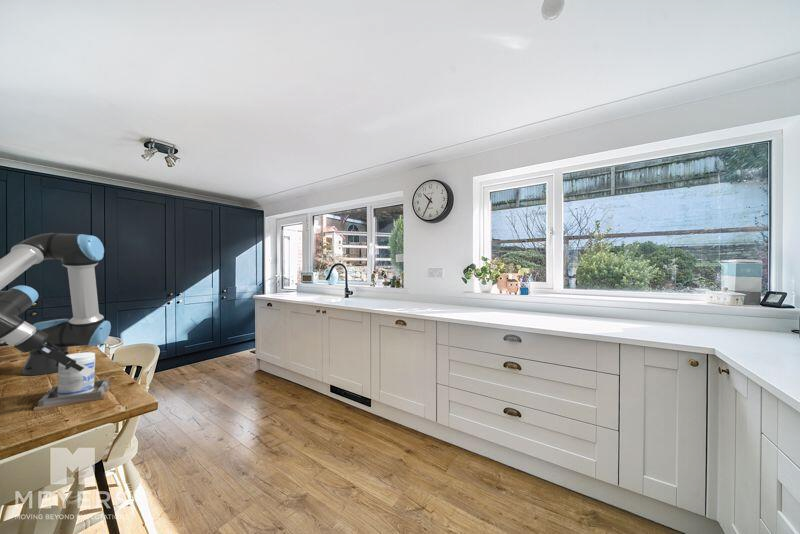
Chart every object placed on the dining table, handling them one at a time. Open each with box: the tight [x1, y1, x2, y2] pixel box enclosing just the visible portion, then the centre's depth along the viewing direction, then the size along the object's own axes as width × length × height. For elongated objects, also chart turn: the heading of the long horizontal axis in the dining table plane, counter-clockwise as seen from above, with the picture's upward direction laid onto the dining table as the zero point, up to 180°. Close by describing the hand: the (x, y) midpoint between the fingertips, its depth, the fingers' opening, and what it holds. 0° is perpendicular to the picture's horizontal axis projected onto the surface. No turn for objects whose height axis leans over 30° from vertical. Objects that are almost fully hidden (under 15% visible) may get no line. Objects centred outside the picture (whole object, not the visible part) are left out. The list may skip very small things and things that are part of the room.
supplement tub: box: [57, 351, 96, 397], centre depth 114 cm, size 10×10×15 cm
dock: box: [32, 378, 112, 412], centre depth 114 cm, size 17×17×3 cm
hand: (85, 370), depth 115 cm, fingers open, 13 cm apart
